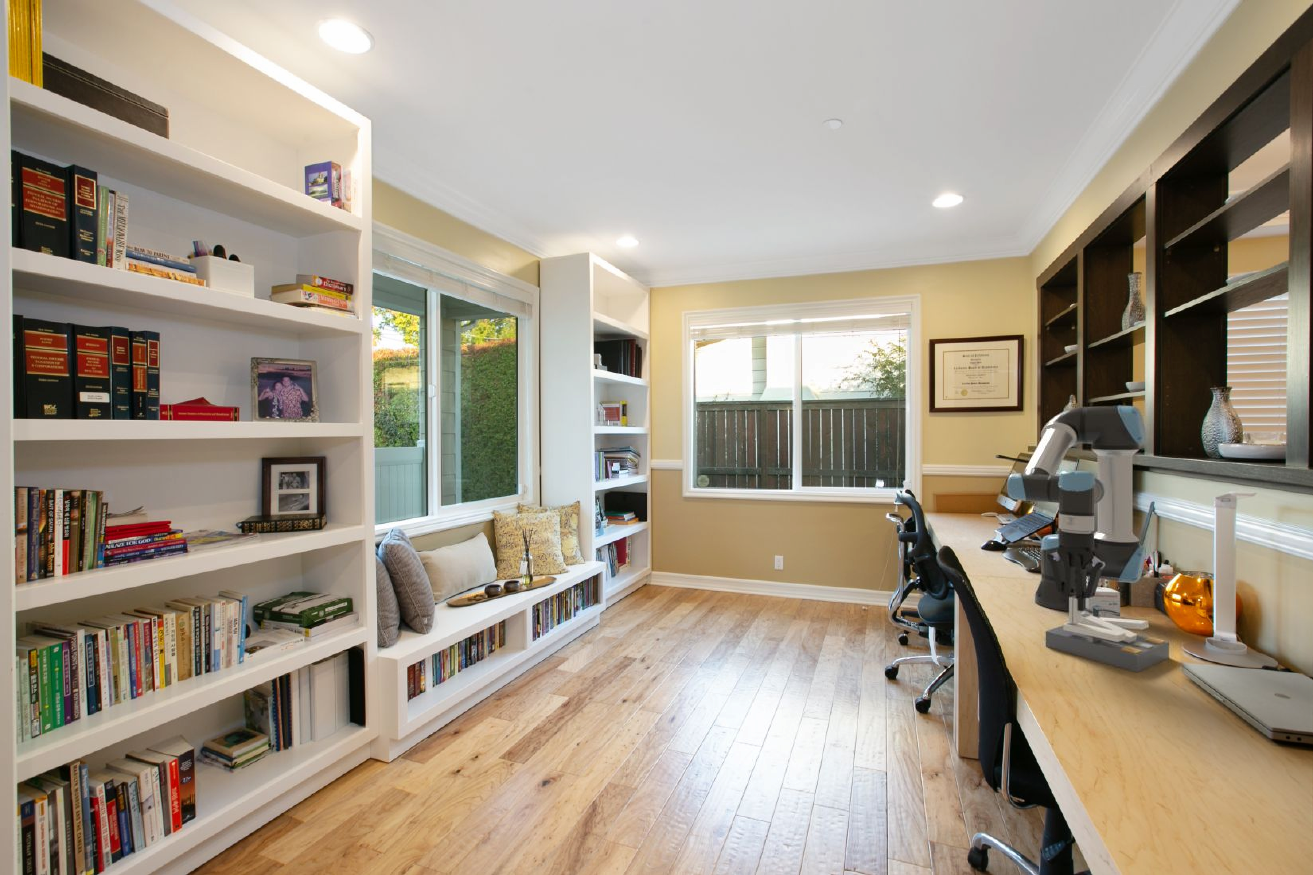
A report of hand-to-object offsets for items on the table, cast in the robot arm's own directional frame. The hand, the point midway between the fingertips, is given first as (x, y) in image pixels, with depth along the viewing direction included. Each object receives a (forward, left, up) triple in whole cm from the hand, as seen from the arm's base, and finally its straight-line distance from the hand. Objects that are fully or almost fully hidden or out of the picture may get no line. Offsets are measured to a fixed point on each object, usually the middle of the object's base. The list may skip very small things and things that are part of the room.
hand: (1075, 622), depth 153 cm
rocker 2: (-6, +4, -1) cm, 8 cm away
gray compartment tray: (-6, +4, -8) cm, 11 cm away
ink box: (-24, -5, -8) cm, 26 cm away
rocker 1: (0, +4, -1) cm, 4 cm away
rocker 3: (-13, +4, -1) cm, 14 cm away
